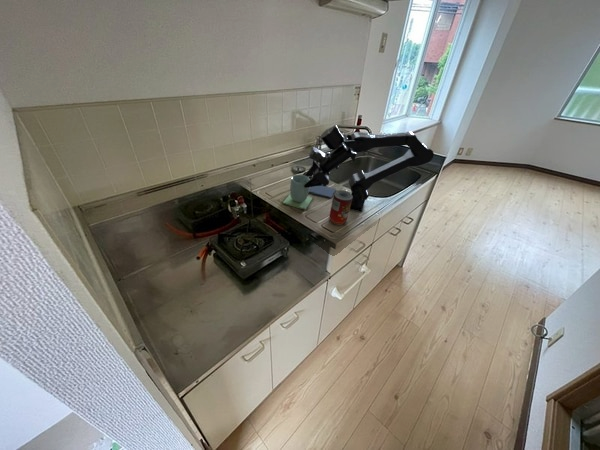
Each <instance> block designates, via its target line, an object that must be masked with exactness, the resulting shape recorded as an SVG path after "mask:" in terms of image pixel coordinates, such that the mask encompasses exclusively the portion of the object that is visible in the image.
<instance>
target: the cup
mask: <svg viewBox="0 0 600 450" xmlns="http://www.w3.org/2000/svg"><path fill="white" fill-rule="evenodd" d="M310 179H311V178H310V176H309V177H307V176H305V174H295V175H292V176H291V178H290V185H289V186H290V187H289V195H291V198H292V199H293V200H294V201H295V202H303V201H305V200H306V199H307V196H308V197H309V194H310V193H309V190H310V187H308V188H305V187H304V185H305V184H306V183H307V182H308V181H309V180H310Z"/></svg>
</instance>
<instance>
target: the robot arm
mask: <svg viewBox="0 0 600 450" xmlns="http://www.w3.org/2000/svg"><path fill="white" fill-rule="evenodd" d="M319 137H320V140H321V141H322V142H323V143H324V145H325V146H326V147H327V149H328V150H332V151H331V152H323V151H322V150H320V149H318V148H317V147H315V146H313V147H312V149H311V150H310V151H309V153H308V155H309V156H308V157H309V159H311V160H312V163H311V166H310V167H309V169H308V170H307V171H306V172H305V173H304V175H305V176H307V177H309V179H310V180H309V181H308V182H307V183H306V184H305V185H304V187H305V188H308V187H309V188H311V187H314V186H324V187H325V186H326V187H328V186H329V184H330V177H329V176H330V175H331V172H332V171H333V170H335V169H336V170H339V168H340V165H342V164H344V163H345V162H346V161H347V160H349V159H351V160H352V162H356V157H357V153H358V154H359V153H363V152H368V151H370V150H372V149H375V148H387V147H402V146H407V147H408V148H409V149H408V150H407V151H406V152H405V153H404V154H403V155H402V156H400V157H398V158H396V159H394V160H392V161H390V162H388V163H386V164H383V165H381V166H379V167H377V168H375V169H373V170H371V171H369V172H364V170H359V171H358V172H356V173H352V176H350V177H349V178H348V185H349V188H350V191H351V194H352V196H353V199H352V202H351V206H350V210H351V211H357V212H359V213H360V212H361V213H363V210H364V206H365V202H366V201H367V200H368V198H369V197H370V195H369V193H368V190H369V189H370V188H371V187H372V186H373V185H374V184H376V183H377V182H379V181H382V180H384V179H386V178H388V177H391V176H392V175H395V174H397V173H400V172H401V171H404V170H405V169H408V168H413V167H421V166H424V165H427V164H429V163H431V161H433V159H434V155H435V154H434V150H432V149H431V148H430V147H429V146H427V145H426V144H425V143H422V142H421V141H420V140H419V139H418V138H417V135H416V134H415V133H413V132H412V131H406V132H394V133H392V132H391V133H380V134H378V133H377V134H373V133H369V132H363V131H354V132H352V134H343V133H342V132H341V131H340V130H339V127H338V126H337V124H335V125H334V126H331V127H329V128H327V129H325V130H324V131H323V132H322V134H321V135H320V136H319ZM310 177H311V178H310Z"/></svg>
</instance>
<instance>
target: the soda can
mask: <svg viewBox="0 0 600 450" xmlns="http://www.w3.org/2000/svg"><path fill="white" fill-rule="evenodd" d="M351 193H352V192H351ZM351 193H350V191H347V190H344V189H339V190H335V192H334V194H333V196H332V202H331V206H330V211H329V219H330V222H331V223H332V224H334V225H339V226H340V225H344V224H345V222H347V220H348V217H349V214H350V210H351V209H350V206H351V202H352V199H353V196H352V194H351Z"/></svg>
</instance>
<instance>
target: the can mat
mask: <svg viewBox="0 0 600 450" xmlns="http://www.w3.org/2000/svg"><path fill="white" fill-rule="evenodd" d="M335 192H336V188H334V187H329V186H325V187H324V186H314V187H309V193H308V194H311V195H316V196H319V197H323V198H327V199H332V198H333V196H334V193H335Z"/></svg>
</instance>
